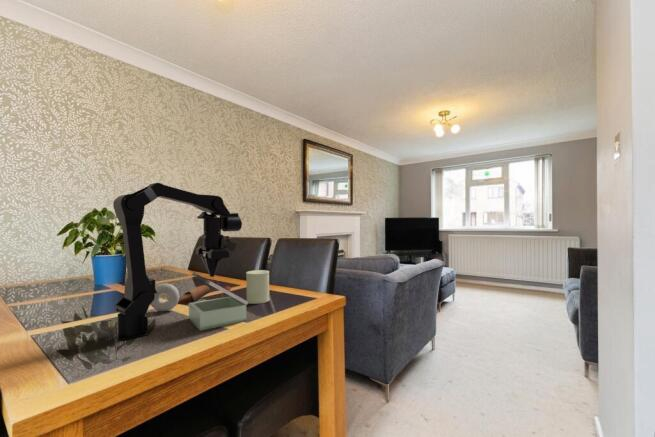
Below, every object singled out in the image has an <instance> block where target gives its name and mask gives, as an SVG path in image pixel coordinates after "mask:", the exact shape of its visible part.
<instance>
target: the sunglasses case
mask: <svg viewBox="0 0 655 437" xmlns="http://www.w3.org/2000/svg"><path fill="white" fill-rule="evenodd" d="M210 292H211V290H210V287H209V286H208V285H206V284H204V285H199V286H197V287H194V288H192V289H190V290H188V291H186V292H184V294H183V295H180V297H179V301H178V303H177V305H186V304H188V305H189V303H194V302H197V301H198V300H199V299H200V298H201V297H203V296H204V295H206V294H207V293H210Z"/></svg>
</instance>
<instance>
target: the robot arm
mask: <svg viewBox="0 0 655 437" xmlns="http://www.w3.org/2000/svg"><path fill="white" fill-rule="evenodd" d="M157 198H159V199H160V198H161V199H165V200H167V201H169V200H170V201H172V202H173V201H174V202H177V203H182V204H186V205H189V206H192V207H195V208H196V209H197V210H200V211H201V213H200V214H199V215H198V216H196V218H197V219H199V220H203V234H201V238H202V239H203V244H202V245H203V246H201V245H200V246H198V247H196V249H195V255H198V256H199V255H202V256H200V258H201V260H202V262H203V265H204V266H205V268H206V271H207V272H208V275H209V277H211V278H214V277H215V274H216V271H217V268H218V265H219V262H221V260H223V259H226V258H231V252H234V253H235V252H236V250H237V247H238V244H239V243H238V242H234V241H231V239H230V238H227V237H225V236H224V235H223V234H222V232H224V233H225V232H239V231H241V229H242V226H243V222H242V219H241V217H240V216H239V213H237V212H235V213H234V212H232V213H230V210H229V209H228V207H227V206H226V205H225V203H224V200H223V197H221V196H219V195H215V194H214V195H213V194H199V193H196V192H195V193H194V192H191V191H187V190H184V189H181V188H176V187H173V186H170V185H166V184H163V183H161V182H154V183H150V184H149V185H147V186H145V187H144V188H141V189H139V190H137V191H134V192H133V193H127V194H121V195H119V196H117V197H116V198H115V199H114V200H113V204H112V206H113V210H114V212H115V216H116V218H117V220H118V222H119V224H120V226H121V230H122V237H123V245H124V253H125V254H124V255H125V262H126V270H127V271H126V272H127V277H126V280H125V284H124V293H123V296H122V298H120V300H118V302H116V304H115V305H114V309H115V310H116V313H117V331H116V339H117V341H119V342H120V341H124V340H130V339H133V338H139V337H143V336H144V337H145V336H146V335H147V332H148V316H147V312H148V310H149V307H150V306H151V303H152V302H153V301H154V298H155V293H156V294H157V291H156V289H155V286H156V279H155V278H151V277H149V276H148V274H147V270H146V261H145V260H146V259H145V252H144V244H143V242H144V241H143V234H142V233H143V232H142V223H143V220H144V215H145V206H147V205H149V204H150V203H151V202H153V201H155V200H156V199H157Z"/></svg>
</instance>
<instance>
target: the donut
mask: <svg viewBox="0 0 655 437" xmlns="http://www.w3.org/2000/svg"><path fill="white" fill-rule="evenodd" d="M155 289H156V291H157V294H156V293H155V298H154V301H153V302H152V303H151V304H150V307H152V308H153V309H154V310H156V311H158V312H169V311H171V310H172V309H175V307H176V306H177V305H178V304H177V303H178V301H179V298H180V297H181V295H180V291H179V289H178V288H177V287H176V286H175V285H173V284H171V283H166V282H165V283H160V284H157V285H155ZM162 294H166V295H167V296H168V300H166V301H163V300H162V299H161V295H162Z"/></svg>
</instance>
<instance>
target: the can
mask: <svg viewBox="0 0 655 437" xmlns="http://www.w3.org/2000/svg"><path fill="white" fill-rule="evenodd" d="M245 273H246V274H245V275H246V276H245V277H246V282H245V283H246V298H245V299H246V301H248V302H249V303H248V304H250V305H251V304H255V305H257V304H258V305H259V304H264V303H267V302H270V270H266V269H256V270H249V271H245Z"/></svg>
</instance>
